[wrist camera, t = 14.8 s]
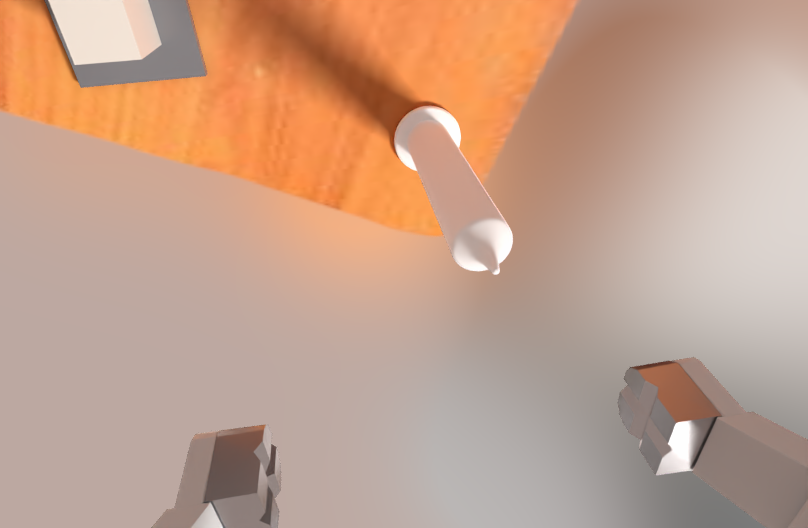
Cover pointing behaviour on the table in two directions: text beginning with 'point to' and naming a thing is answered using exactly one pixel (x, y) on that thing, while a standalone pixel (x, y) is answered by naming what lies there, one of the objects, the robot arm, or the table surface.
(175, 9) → the slate plate
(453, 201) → the candle
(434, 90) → the table surface
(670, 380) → the robot arm
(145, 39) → the cream block
